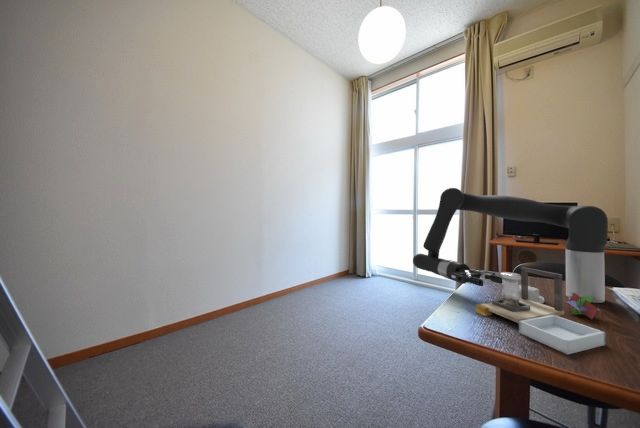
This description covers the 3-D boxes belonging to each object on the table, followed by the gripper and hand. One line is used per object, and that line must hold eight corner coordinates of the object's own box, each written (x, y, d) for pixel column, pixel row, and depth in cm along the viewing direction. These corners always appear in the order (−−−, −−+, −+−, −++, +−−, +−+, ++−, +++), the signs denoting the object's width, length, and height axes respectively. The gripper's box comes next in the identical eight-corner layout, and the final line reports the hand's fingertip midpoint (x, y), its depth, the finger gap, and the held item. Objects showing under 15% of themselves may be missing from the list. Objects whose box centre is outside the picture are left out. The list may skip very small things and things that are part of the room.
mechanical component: (518, 304, 81) (552, 305, 79) (517, 291, 81) (551, 292, 79) (501, 294, 90) (531, 295, 88) (501, 282, 90) (531, 283, 88)
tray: (553, 325, 65) (553, 314, 65) (605, 344, 55) (605, 332, 55) (518, 332, 62) (518, 321, 62) (567, 354, 52) (567, 341, 52)
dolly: (521, 304, 79) (520, 266, 79) (564, 319, 68) (563, 274, 68) (475, 312, 74) (475, 270, 74) (514, 329, 63) (513, 281, 63)
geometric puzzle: (616, 316, 65) (594, 287, 70) (593, 317, 65) (573, 288, 70) (591, 322, 71) (573, 295, 76) (570, 323, 71) (553, 296, 75)
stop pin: (508, 302, 75) (508, 271, 75) (525, 308, 70) (525, 275, 70) (496, 304, 74) (496, 272, 74) (513, 310, 69) (513, 276, 69)
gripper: (438, 262, 91) (475, 272, 76) (467, 259, 95) (508, 269, 79) (438, 281, 91) (475, 295, 76) (467, 278, 95) (509, 291, 79)
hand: (492, 282), depth 78 cm, fingers open, 8 cm apart
